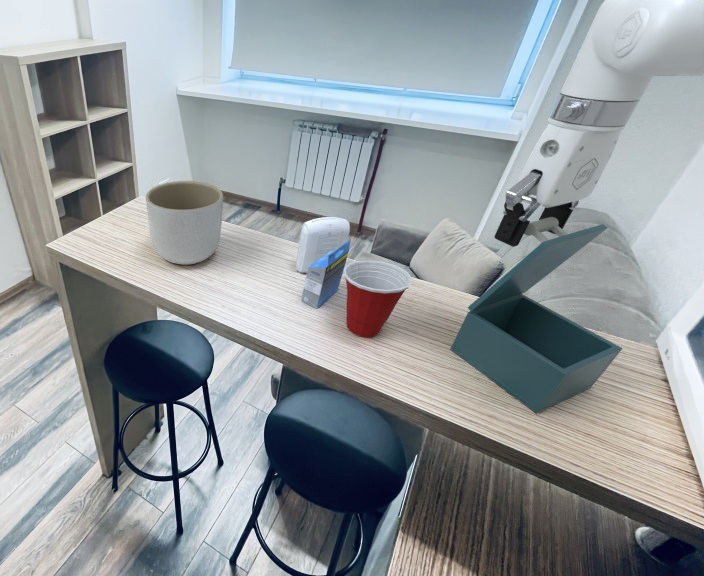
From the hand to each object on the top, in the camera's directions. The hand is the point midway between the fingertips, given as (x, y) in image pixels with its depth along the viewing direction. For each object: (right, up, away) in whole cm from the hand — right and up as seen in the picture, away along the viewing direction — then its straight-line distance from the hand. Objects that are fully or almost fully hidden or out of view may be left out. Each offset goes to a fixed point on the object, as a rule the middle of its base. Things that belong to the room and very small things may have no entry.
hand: (526, 235), depth 60 cm
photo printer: (-21, -3, +32) cm, 38 cm away
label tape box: (-23, -10, +23) cm, 34 cm away
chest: (+3, -21, +6) cm, 22 cm away
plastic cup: (-18, -15, +15) cm, 28 cm away
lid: (+1, -5, 0) cm, 6 cm away
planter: (-51, 0, +38) cm, 64 cm away
